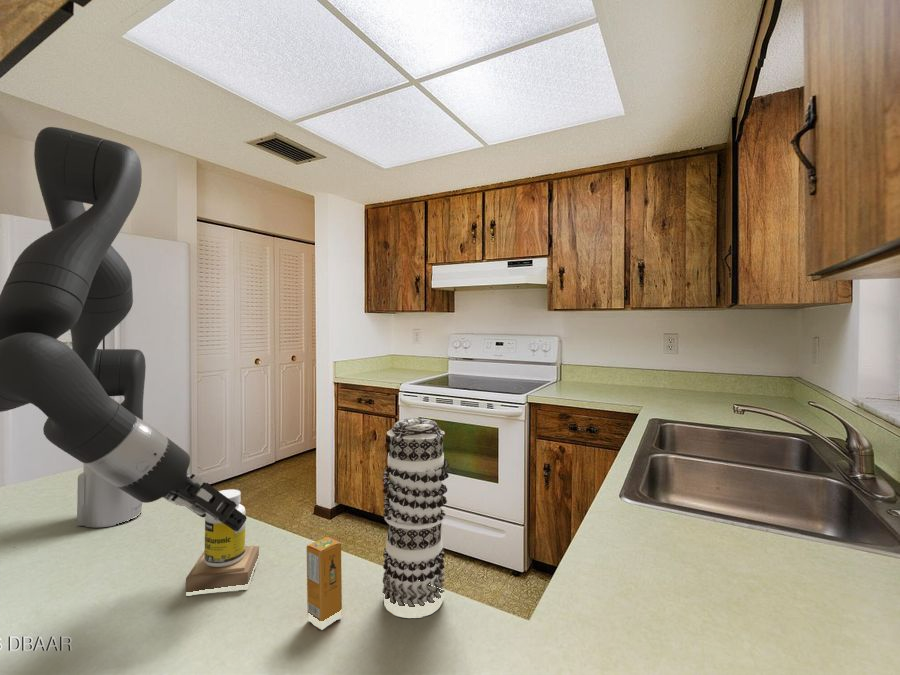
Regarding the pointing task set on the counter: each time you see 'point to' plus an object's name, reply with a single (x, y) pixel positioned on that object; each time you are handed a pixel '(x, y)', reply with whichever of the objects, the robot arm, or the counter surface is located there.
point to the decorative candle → (414, 512)
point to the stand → (222, 572)
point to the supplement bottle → (224, 537)
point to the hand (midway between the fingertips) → (224, 517)
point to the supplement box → (324, 578)
